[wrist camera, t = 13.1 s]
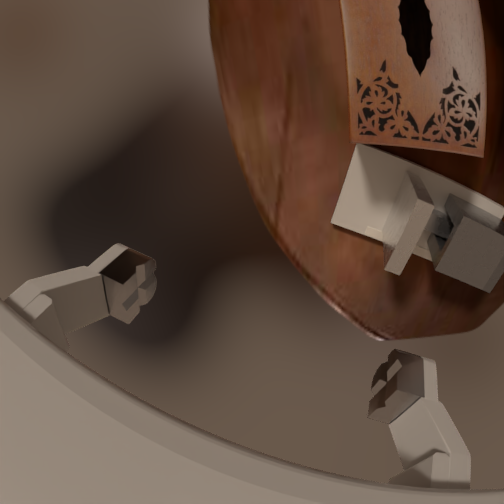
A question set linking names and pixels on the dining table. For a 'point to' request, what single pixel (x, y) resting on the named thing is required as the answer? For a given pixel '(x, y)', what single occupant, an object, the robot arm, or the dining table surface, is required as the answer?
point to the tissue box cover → (416, 74)
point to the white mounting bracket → (410, 222)
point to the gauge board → (393, 193)
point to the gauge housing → (470, 245)
